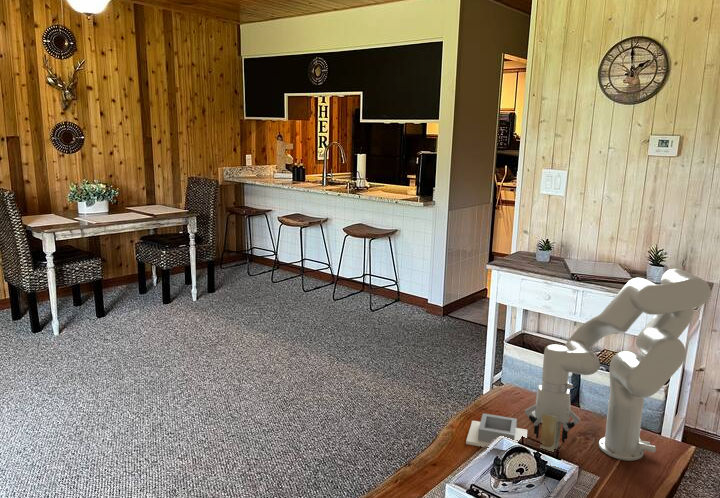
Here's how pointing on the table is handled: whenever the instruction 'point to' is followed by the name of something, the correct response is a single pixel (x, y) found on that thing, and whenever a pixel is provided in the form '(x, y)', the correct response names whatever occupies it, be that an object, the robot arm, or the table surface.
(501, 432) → the square socket base
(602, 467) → the table surface
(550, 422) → the skincare box
